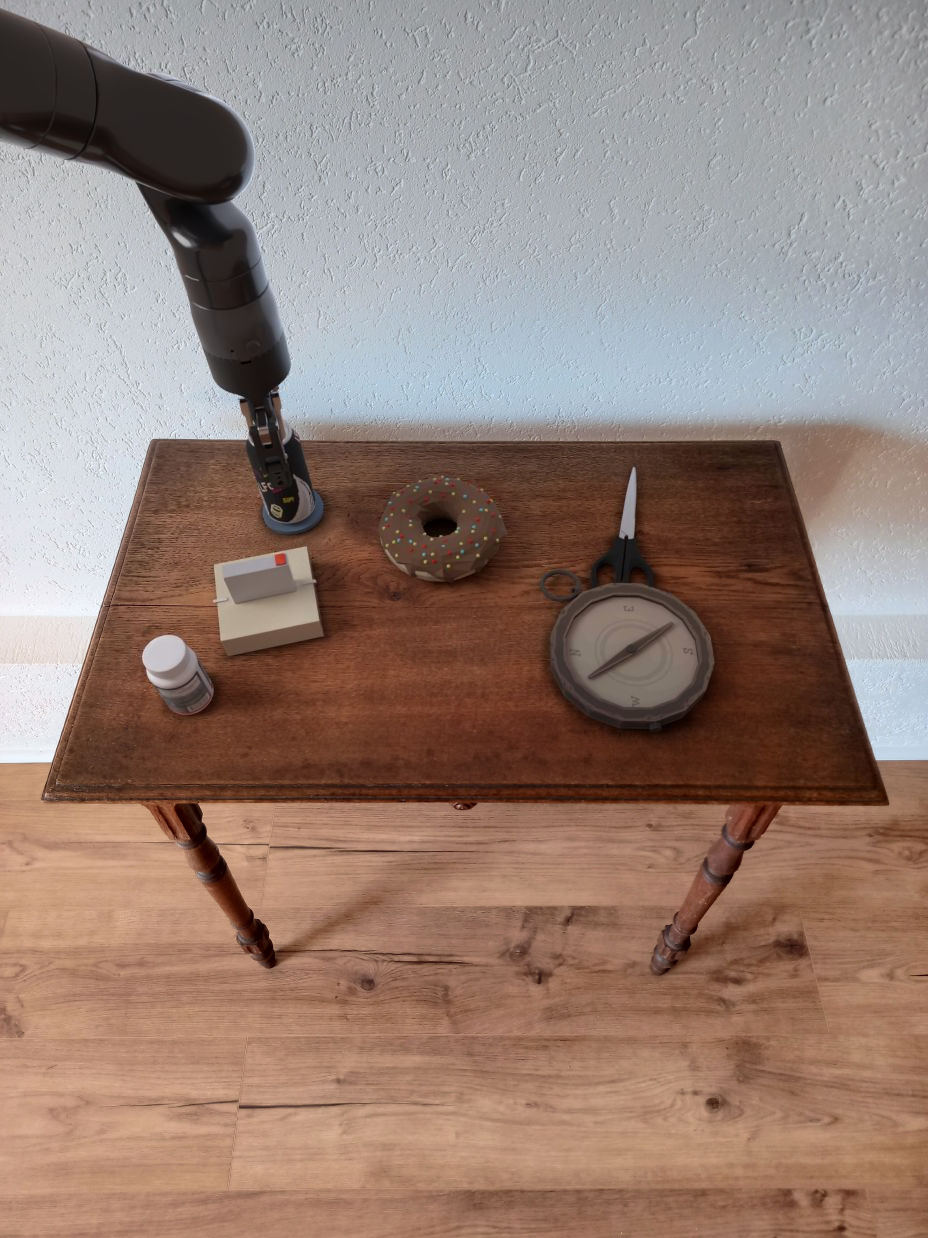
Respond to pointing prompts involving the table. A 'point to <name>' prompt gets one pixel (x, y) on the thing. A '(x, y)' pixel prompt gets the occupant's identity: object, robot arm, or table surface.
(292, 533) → the coaster
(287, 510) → the beverage can
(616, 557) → the scissors
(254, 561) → the tap handle
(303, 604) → the base
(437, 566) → the donut
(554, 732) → the table surface
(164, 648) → the pill bottle
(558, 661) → the compass
